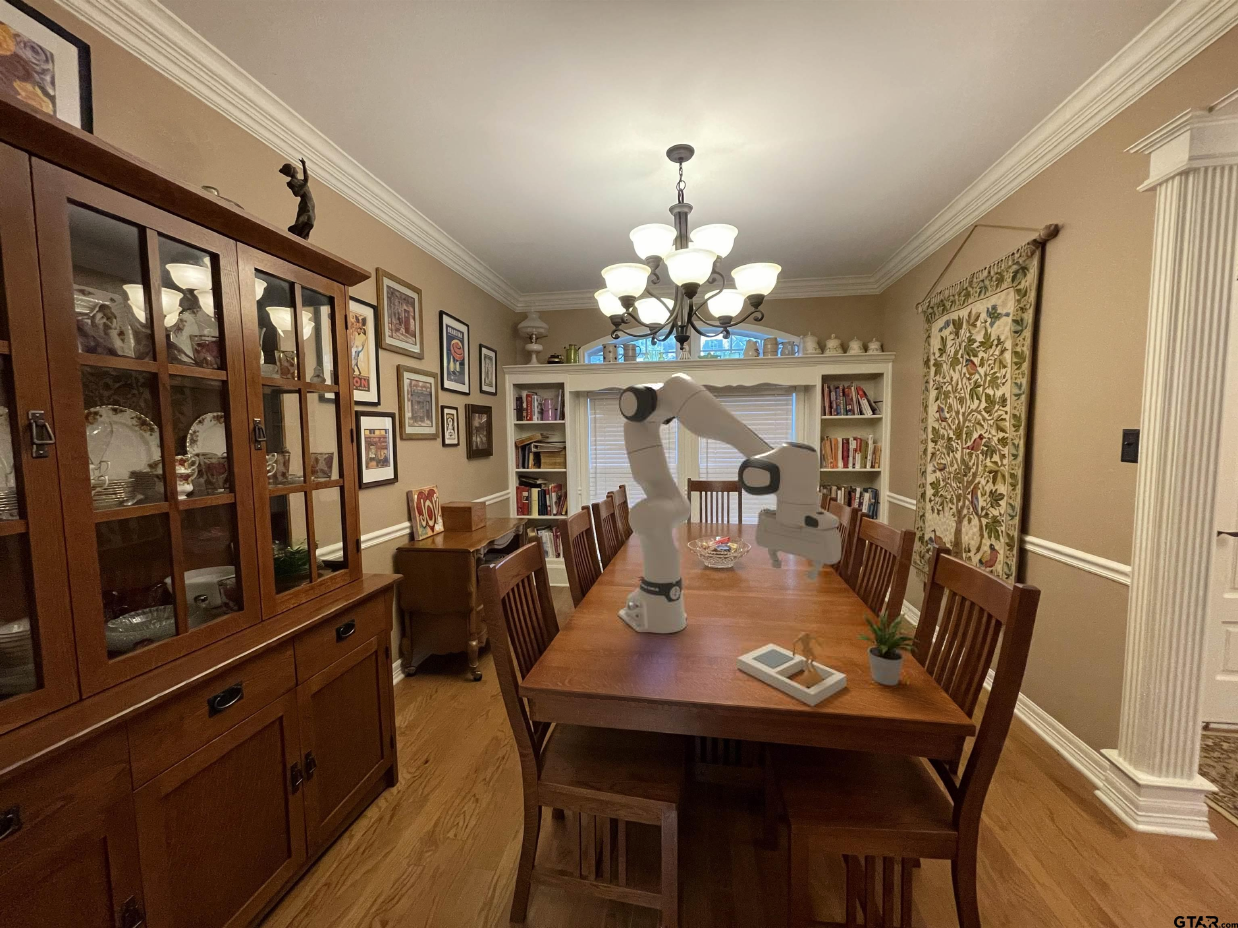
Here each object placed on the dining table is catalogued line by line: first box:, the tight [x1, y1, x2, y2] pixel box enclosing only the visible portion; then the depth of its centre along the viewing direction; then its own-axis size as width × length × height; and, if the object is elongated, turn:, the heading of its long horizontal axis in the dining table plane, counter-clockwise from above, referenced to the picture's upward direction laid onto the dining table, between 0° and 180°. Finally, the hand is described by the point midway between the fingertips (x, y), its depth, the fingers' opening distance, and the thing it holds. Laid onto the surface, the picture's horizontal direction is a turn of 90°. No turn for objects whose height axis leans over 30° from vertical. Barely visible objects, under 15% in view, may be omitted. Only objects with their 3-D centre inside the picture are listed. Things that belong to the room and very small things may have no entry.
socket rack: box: [736, 643, 847, 707], centre depth 109 cm, size 20×13×3 cm, turn 35°
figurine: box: [792, 631, 825, 689], centre depth 105 cm, size 8×6×12 cm
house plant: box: [846, 609, 922, 686], centre depth 106 cm, size 14×14×16 cm
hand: (793, 573), depth 107 cm, fingers open, 8 cm apart
